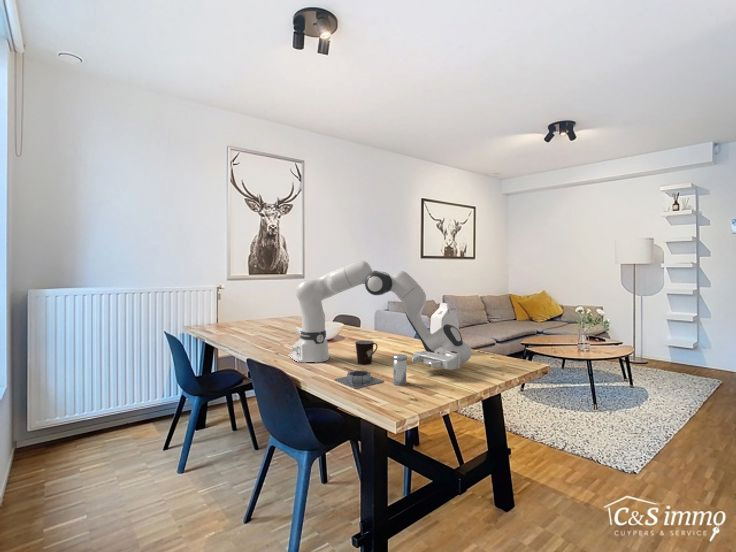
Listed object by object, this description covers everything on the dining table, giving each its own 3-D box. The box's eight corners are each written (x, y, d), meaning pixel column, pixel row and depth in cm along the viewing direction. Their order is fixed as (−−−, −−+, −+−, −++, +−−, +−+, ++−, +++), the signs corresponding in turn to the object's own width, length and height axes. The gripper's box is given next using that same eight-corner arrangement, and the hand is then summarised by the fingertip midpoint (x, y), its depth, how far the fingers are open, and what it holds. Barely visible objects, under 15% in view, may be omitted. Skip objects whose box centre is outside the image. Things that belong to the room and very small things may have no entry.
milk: (460, 353, 203) (460, 303, 202) (441, 355, 198) (441, 304, 198) (447, 349, 214) (447, 301, 213) (429, 350, 210) (429, 302, 209)
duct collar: (334, 380, 155) (334, 372, 155) (361, 374, 164) (361, 367, 164) (355, 388, 144) (355, 380, 144) (383, 381, 153) (383, 374, 153)
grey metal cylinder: (390, 383, 151) (390, 355, 151) (400, 381, 154) (400, 353, 154) (399, 386, 147) (399, 357, 147) (409, 384, 150) (409, 355, 150)
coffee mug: (357, 366, 177) (357, 344, 177) (353, 361, 186) (353, 340, 185) (382, 364, 180) (382, 343, 180) (376, 360, 189) (376, 339, 189)
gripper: (425, 346, 175) (403, 350, 166) (463, 354, 159) (440, 359, 150) (425, 360, 175) (403, 365, 166) (463, 369, 159) (440, 375, 150)
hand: (421, 362), depth 158 cm, fingers open, 8 cm apart
